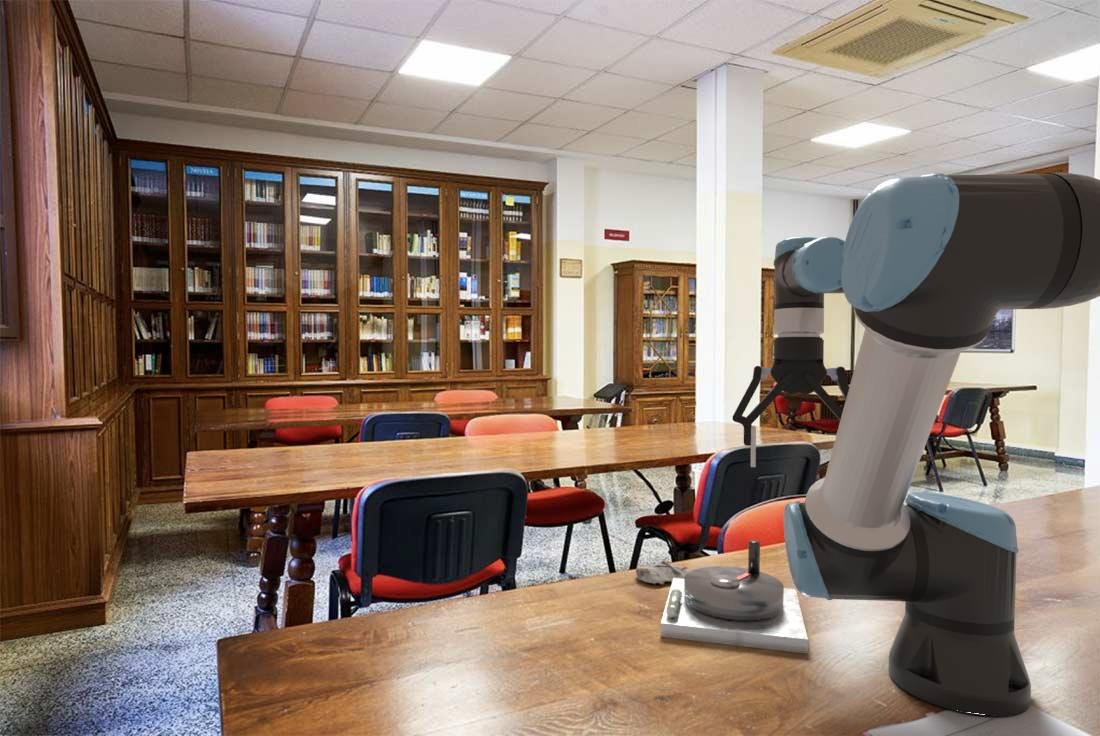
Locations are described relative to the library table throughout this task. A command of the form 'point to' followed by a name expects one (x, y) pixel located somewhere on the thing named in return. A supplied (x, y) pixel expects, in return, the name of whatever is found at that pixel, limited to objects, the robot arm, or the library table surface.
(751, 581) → the crank handle wheel
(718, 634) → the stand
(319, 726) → the library table surface
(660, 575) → the stone
